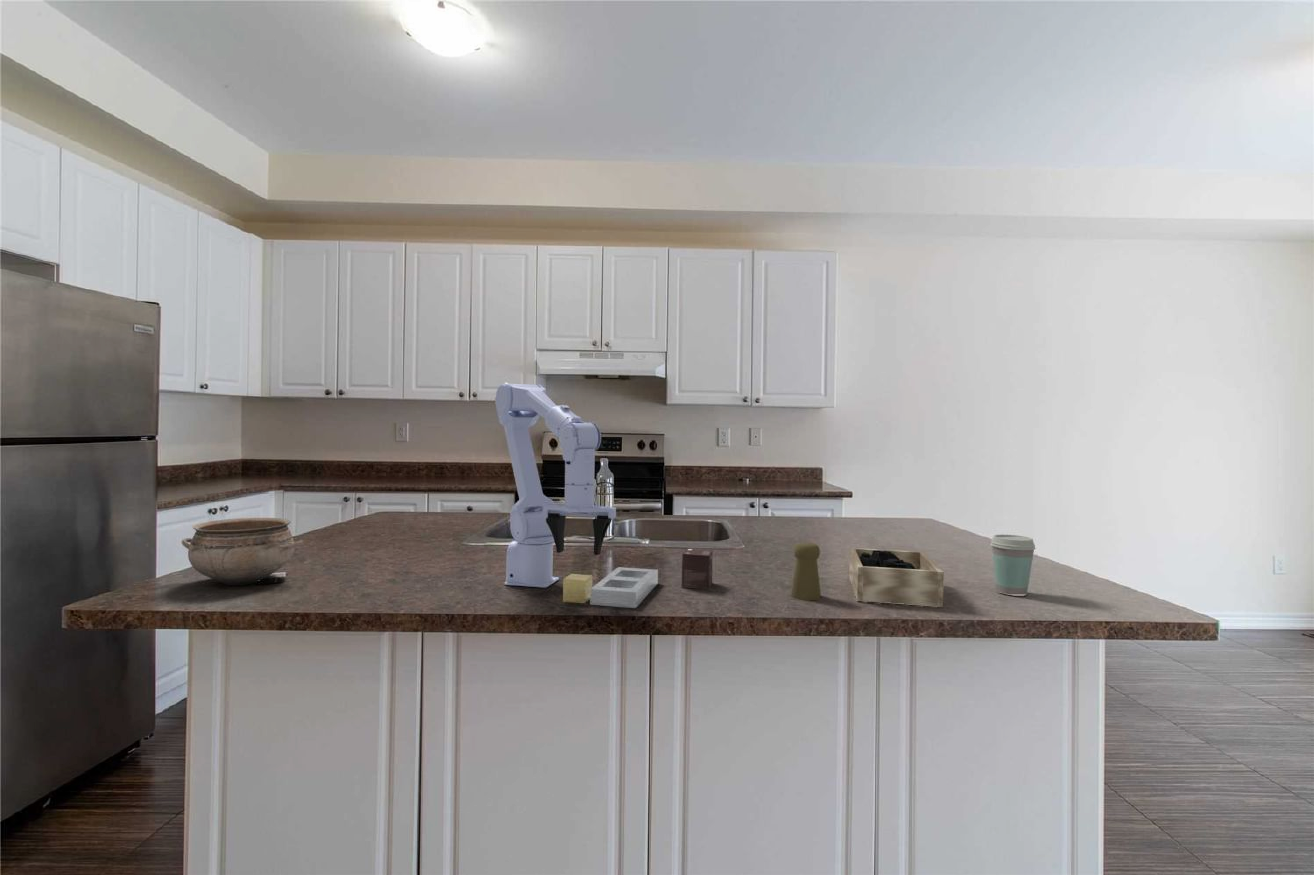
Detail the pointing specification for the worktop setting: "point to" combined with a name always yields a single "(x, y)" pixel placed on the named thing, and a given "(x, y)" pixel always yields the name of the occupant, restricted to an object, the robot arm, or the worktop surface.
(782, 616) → the worktop surface
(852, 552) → the organizer wall panel
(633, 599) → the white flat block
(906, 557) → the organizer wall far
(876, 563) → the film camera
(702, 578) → the box
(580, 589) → the pale yellow wooden cube
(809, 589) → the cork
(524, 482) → the robot arm
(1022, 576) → the coffee cup
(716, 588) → the worktop surface
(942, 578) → the wall
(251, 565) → the cooking pot
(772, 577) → the worktop surface
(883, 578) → the wall
